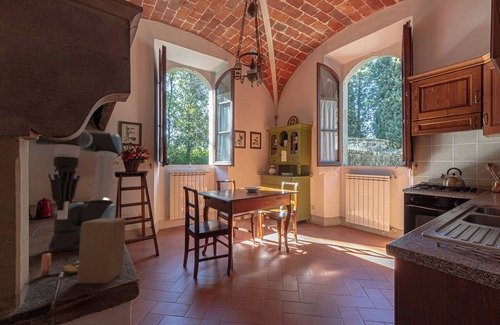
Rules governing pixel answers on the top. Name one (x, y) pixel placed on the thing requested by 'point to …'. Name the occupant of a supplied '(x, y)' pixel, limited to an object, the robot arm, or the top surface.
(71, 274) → the level base
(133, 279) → the top surface
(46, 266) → the crank handle
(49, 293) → the top surface
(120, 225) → the wooden block
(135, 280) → the top surface
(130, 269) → the top surface
